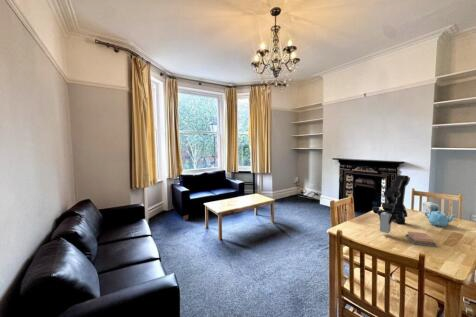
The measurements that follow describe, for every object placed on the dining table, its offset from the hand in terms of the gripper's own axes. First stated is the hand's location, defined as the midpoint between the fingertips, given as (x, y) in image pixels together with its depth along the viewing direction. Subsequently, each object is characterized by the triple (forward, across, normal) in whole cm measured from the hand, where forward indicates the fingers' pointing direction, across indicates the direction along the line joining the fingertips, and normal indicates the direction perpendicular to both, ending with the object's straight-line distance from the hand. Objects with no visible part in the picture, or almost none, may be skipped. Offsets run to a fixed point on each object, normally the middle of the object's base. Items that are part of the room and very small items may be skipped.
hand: (384, 222), depth 149 cm
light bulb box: (-46, +13, +60) cm, 77 cm away
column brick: (+4, 0, +6) cm, 7 cm away
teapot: (-29, +22, +43) cm, 57 cm away
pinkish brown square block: (+1, +18, +12) cm, 22 cm away
